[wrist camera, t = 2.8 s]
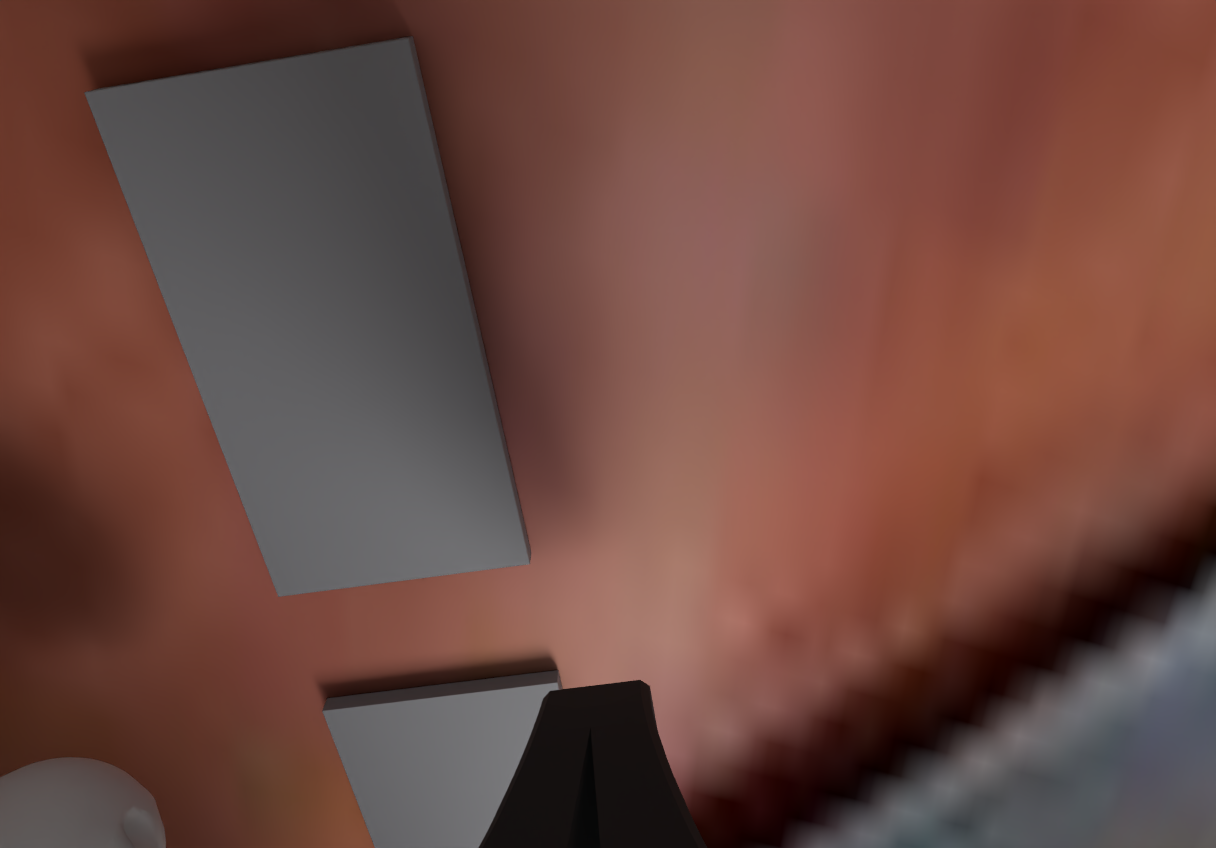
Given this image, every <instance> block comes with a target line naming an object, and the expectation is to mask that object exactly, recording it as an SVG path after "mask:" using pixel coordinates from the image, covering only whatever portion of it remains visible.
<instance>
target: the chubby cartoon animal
mask: <svg viewBox="0 0 1216 848" xmlns="http://www.w3.org/2000/svg"><path fill="white" fill-rule="evenodd" d="M0 848H166V838H165V830H164V826H163V823H162V820H161V817H160V814H159V811H158V808H157V805H156V801H155V798H154V797H153V796H152V794H151V793H150V792H149V791H148V790H147V789H146V788H144V787H143V786H142V785H141V784H140V783H139V782H138V781H136V780H135V779H134V778H133V777H132V776H130V775H129V774H128V773H127V772H125V771H123V770H122V769H120V768H118V767H116V766H114V765H111V764H109V763H106V762H103V761H100V760H95V759H91V758H82V757H64V758H54V759H48V760H44V761H39V762H35V763H32V764H30V765H27V766H24V767H22V768H19V769H17V770H15V771H13V772H10V773H8V774H6V775H4V776H2V777H0Z"/></svg>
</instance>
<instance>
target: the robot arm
mask: <svg viewBox="0 0 1216 848" xmlns="http://www.w3.org/2000/svg"><path fill="white" fill-rule="evenodd" d="M479 848H707V847H706V845H705V843H704V841H703V839H702V837H701V835H700V833H699V831H698V829H697V827H696V825H695V823H694V821H693V819H692V817H691V814H690V812H689V810H688V808H687V806H686V803H685V801H684V799H683V796H682V794H681V792H680V789H679V787H678V785H677V783H676V780H675V778H674V776H673V773H672V771H671V768H670V765H669V763H668V760H667V758H666V755H665V752H664V749H663V746H662V743H661V740H660V737H659V734H658V730H657V725H656V719H655V714H654V708H653V702H652V696H651V691H650V686H649V685H647V684H646V683H644V682H643V681H641V680H636V681H628V682H619V683H611V684H603V685H595V686H586V687H578V688H570V689H561V690H553V691H549V693H548V694H547V695H546V696H545V697H544V698H543V700H542V703H541V707H540V710H539V713H538V716H537V719H536V721H535V724H534V727H533V730H532V732H531V735H530V737H529V740H528V743H527V745H526V748H525V750H524V752H523V755H522V757H521V759H520V762H519V764H518V767H517V769H516V771H515V774H514V776H513V778H512V780H511V782H510V785H509V787H508V789H507V791H506V793H505V795H504V797H503V800H502V802H501V804H500V806H499V808H498V810H497V812H496V814H495V817H494V819H493V821H492V823H491V825H490V827H489V829H488V831H487V833H486V835H485V837H484V838H483V840H482V842H481V844H480V846H479Z"/></svg>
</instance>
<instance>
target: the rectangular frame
mask: <svg viewBox="0 0 1216 848" xmlns="http://www.w3.org/2000/svg"><path fill="white" fill-rule="evenodd" d="M84 93H85V95H86V98H87V101H88V103H89V106H90V108H91V111H92V114H93V116H94V119H95V121H96V124H97V127H98V129H99V132H100V134H101V137H102V140H103V142H104V145H105V147H106V150H107V153H108V155H109V158H110V160H111V163H112V166H113V168H114V171H115V173H116V176H117V179H118V181H119V184H120V186H121V189H122V192H123V194H124V197H125V199H126V202H127V205H128V207H129V210H130V212H131V215H132V218H133V220H134V223H135V225H136V228H137V231H138V233H139V236H140V238H141V241H142V244H143V246H144V249H145V251H146V254H147V257H148V259H149V262H150V264H151V267H152V270H153V272H154V275H155V277H156V280H157V283H158V285H159V288H160V290H161V293H162V296H163V298H164V301H165V303H166V306H167V309H168V311H169V314H170V316H171V319H172V322H173V324H174V327H175V329H176V332H177V335H178V337H179V340H180V342H181V345H182V348H183V350H184V353H185V355H186V358H187V361H188V363H189V366H190V368H191V371H192V374H193V376H194V379H195V381H196V384H197V387H198V389H199V392H200V394H201V397H202V400H203V402H204V405H205V407H206V410H207V413H208V415H209V418H210V420H211V423H212V425H213V428H214V431H215V433H216V436H217V438H218V441H219V444H220V446H221V449H222V451H223V454H224V457H225V459H226V462H227V464H228V467H229V470H230V472H231V475H232V477H233V480H234V483H235V485H236V488H237V490H238V493H239V496H240V498H241V501H242V503H243V506H244V509H245V511H246V514H247V516H248V519H249V522H250V524H251V527H252V529H253V532H254V535H255V537H256V540H257V542H258V545H259V548H260V550H261V553H262V555H263V558H264V561H265V563H266V566H267V568H268V571H269V574H270V576H271V579H272V581H273V584H274V587H275V589H276V592H277V594H278V597H280V596H288V595H295V594H303V593H311V592H318V591H326V590H334V589H342V588H349V587H357V586H365V585H372V584H380V583H388V582H396V581H403V580H411V579H419V578H426V577H434V576H442V575H450V574H457V573H465V572H473V571H480V570H488V569H496V568H504V567H511V566H519V565H527V564H530V559H531V550H530V546H529V541H528V537H527V533H526V528H525V524H524V519H523V515H522V511H521V506H520V502H519V498H518V493H517V489H516V485H515V480H514V476H513V471H512V467H511V463H510V458H509V454H508V450H507V445H506V441H505V437H504V432H503V428H502V423H501V419H500V415H499V410H498V406H497V402H496V397H495V393H494V389H493V384H492V380H491V375H490V371H489V367H488V362H487V358H486V354H485V349H484V345H483V341H482V336H481V332H480V328H479V323H478V319H477V314H476V310H475V306H474V301H473V297H472V293H471V288H470V284H469V280H468V275H467V271H466V266H465V262H464V258H463V253H462V249H461V245H460V240H459V236H458V232H457V227H456V223H455V218H454V214H453V210H452V205H451V201H450V197H449V192H448V188H447V184H446V179H445V175H444V170H443V166H442V162H441V157H440V153H439V149H438V144H437V140H436V136H435V131H434V127H433V123H432V118H431V114H430V109H429V105H428V101H427V96H426V92H425V88H424V83H423V79H422V75H421V70H420V66H419V61H418V57H417V53H416V48H415V44H414V40H413V36H409V37H403V38H397V39H392V40H386V41H380V42H374V43H368V44H362V45H356V46H350V47H344V48H338V49H332V50H326V51H320V52H314V53H308V54H302V55H296V56H290V57H284V58H278V59H272V60H266V61H260V62H254V63H248V64H243V65H237V66H231V67H225V68H219V69H213V70H207V71H201V72H195V73H189V74H183V75H177V76H171V77H165V78H159V79H153V80H147V81H141V82H135V83H129V84H123V85H117V86H111V87H105V88H100V89H95V90H91V91H88V92H84ZM561 689H562V685H561V681H560V676H559V672H558V670H555V671H547V672H539V673H530V674H522V675H514V676H506V677H498V678H490V679H481V680H473V681H465V682H457V683H449V684H440V685H432V686H424V687H416V688H408V689H399V690H391V691H383V692H375V693H367V694H358V695H350V696H342V697H334V698H327V700H326V702H325V705H324V708H323V714H324V717H325V719H326V722H327V724H328V727H329V730H330V732H331V735H332V737H333V740H334V743H335V745H336V748H337V750H338V753H339V756H340V758H341V761H342V763H343V766H344V769H345V771H346V774H347V776H348V779H349V782H350V784H351V787H352V789H353V792H354V795H355V797H356V800H357V802H358V805H359V808H360V810H361V813H362V815H363V818H364V821H365V823H366V826H367V828H368V831H369V834H370V836H371V839H372V841H373V844H374V847H375V848H479V846H480V844H481V842H482V840H483V838H484V837H485V835H486V833H487V831H488V829H489V827H490V825H491V823H492V821H493V819H494V817H495V814H496V812H497V810H498V808H499V806H500V804H501V802H502V800H503V797H504V795H505V793H506V791H507V789H508V787H509V785H510V782H511V780H512V778H513V776H514V774H515V771H516V769H517V767H518V764H519V762H520V759H521V757H522V755H523V752H524V750H525V748H526V745H527V743H528V740H529V737H530V735H531V732H532V730H533V727H534V724H535V721H536V719H537V716H538V713H539V710H540V707H541V703H542V700H543V698H544V697H545V696H546V695H547V694H548V693H549V691H553V690H561Z"/></svg>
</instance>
